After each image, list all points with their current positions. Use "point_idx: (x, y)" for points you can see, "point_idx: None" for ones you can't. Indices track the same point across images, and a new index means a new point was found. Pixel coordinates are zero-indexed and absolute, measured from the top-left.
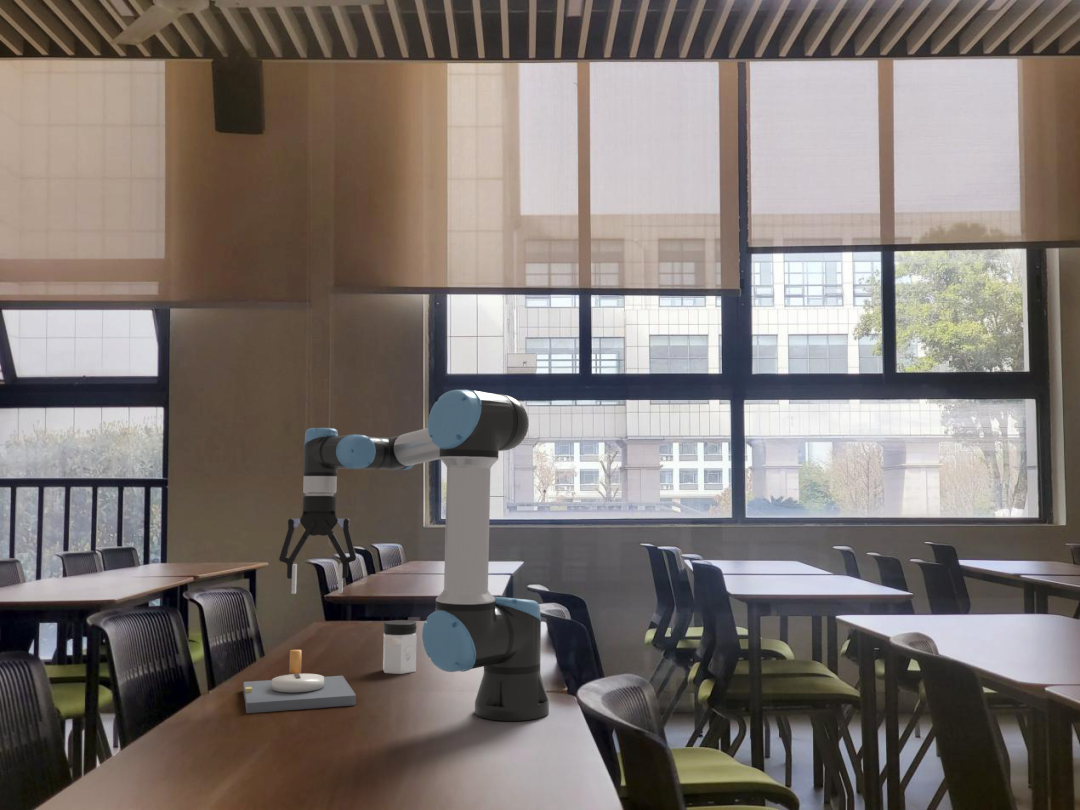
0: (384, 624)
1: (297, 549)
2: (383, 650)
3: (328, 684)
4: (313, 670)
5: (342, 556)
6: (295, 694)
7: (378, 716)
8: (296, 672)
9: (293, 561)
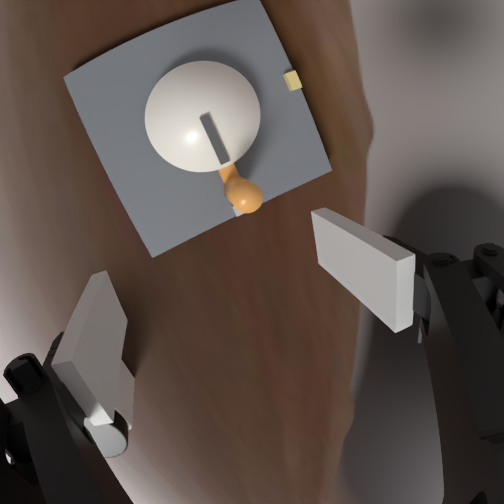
0: (117, 426)
1: (471, 325)
2: (130, 397)
3: (148, 163)
4: (255, 353)
5: (40, 413)
6: (187, 61)
7: (22, 22)
8: (230, 178)
9: (424, 313)
